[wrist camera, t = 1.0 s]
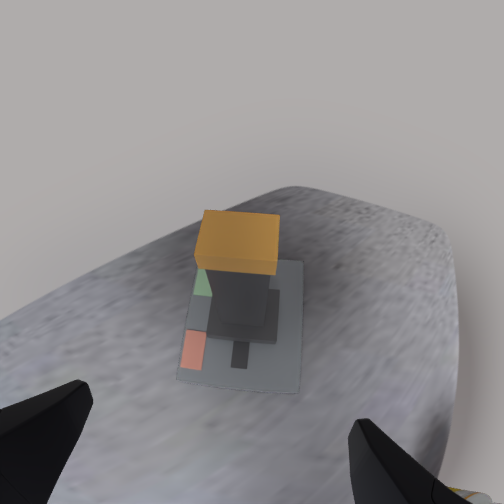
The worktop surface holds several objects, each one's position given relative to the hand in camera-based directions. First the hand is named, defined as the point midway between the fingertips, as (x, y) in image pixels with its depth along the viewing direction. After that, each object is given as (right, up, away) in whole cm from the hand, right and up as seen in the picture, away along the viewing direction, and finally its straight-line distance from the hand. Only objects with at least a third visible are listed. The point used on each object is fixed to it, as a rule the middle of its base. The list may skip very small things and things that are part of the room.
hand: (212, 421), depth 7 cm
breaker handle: (+1, 0, +14) cm, 13 cm away
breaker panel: (+1, -1, +16) cm, 16 cm away
